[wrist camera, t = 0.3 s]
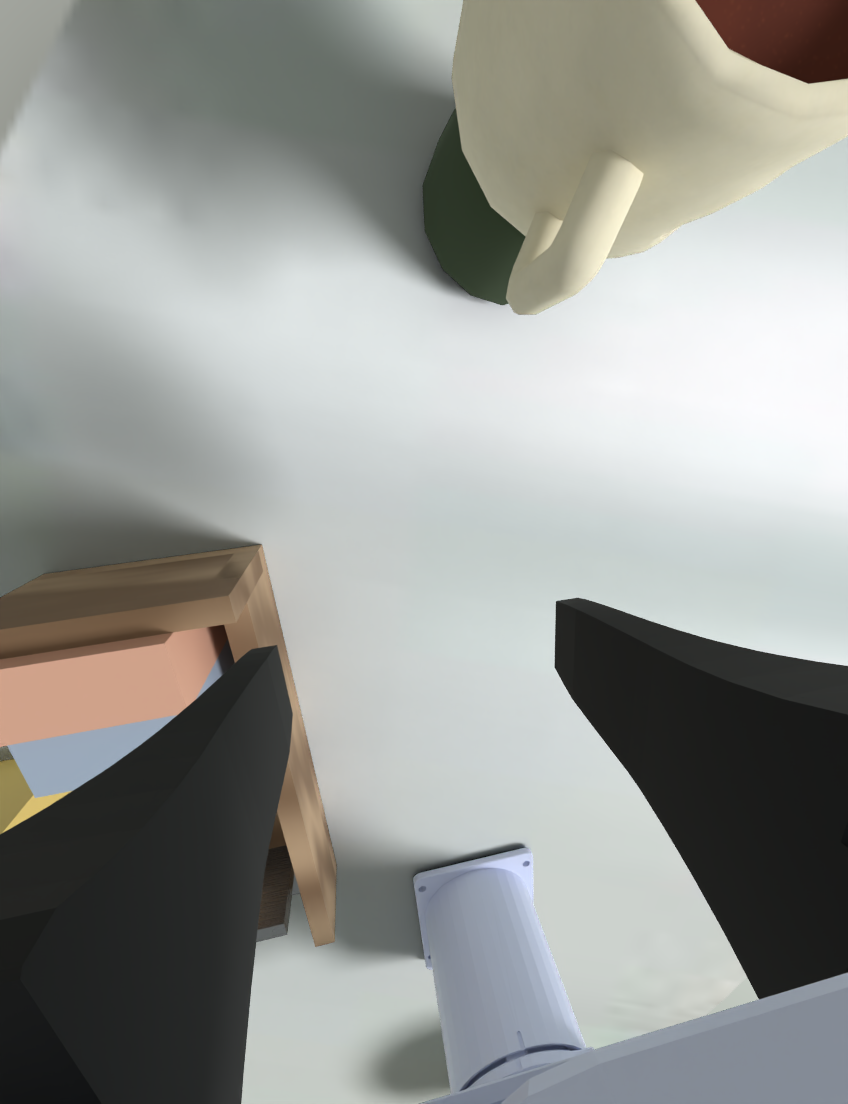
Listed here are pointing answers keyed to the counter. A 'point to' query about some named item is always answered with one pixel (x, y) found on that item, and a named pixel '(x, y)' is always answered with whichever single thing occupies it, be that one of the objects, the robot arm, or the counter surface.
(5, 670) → the row books
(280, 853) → the bookend
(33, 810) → the pale yellow upright block
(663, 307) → the counter surface
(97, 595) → the shelf tray
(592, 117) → the character mug
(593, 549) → the counter surface
